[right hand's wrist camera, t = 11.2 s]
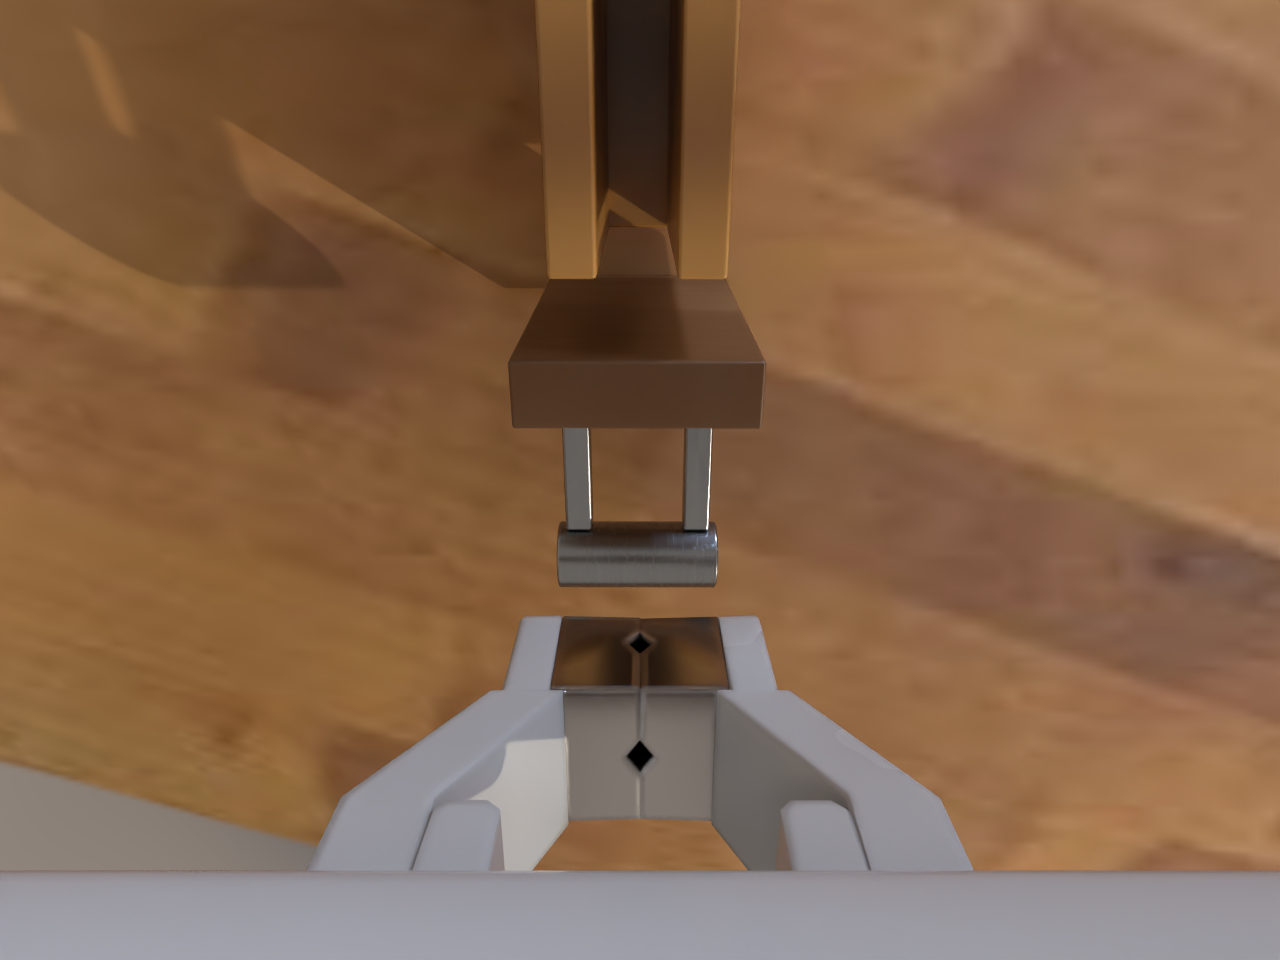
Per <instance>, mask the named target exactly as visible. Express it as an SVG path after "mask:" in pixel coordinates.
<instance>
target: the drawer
mask: <svg viewBox="0 0 1280 960" xmlns="http://www.w3.org/2000/svg"><path fill="white" fill-rule="evenodd" d="M739 21H740V0H535V22H536V43H537V65H538V87H539V109H540V131H541V152H542V174H543V196H544V218H545V240H546V261H547V275H548V277H549V278H551V279H550V281H549V283H548V285H547V287H546V289H545V291H544V292H543V294H542V296H541V298H540V300H539V302H538V304H537V306H536V308H535V310H534V312H533V314H532V316H531V318H530V320H529V322H528V324H527V326H526V328H525V330H524V332H523V334H522V336H521V338H520V340H519V342H518V344H517V346H516V348H515V350H514V352H513V354H512V356H511V358H510V360H509V362H508V369H509V384H510V398H511V413H512V425H513V427H514V428H562V437H563V461H564V485H565V509H566V521H562V522H560V524H559V528H558V538H557V576H558V583H559V586H560V587H715V586H716V582H717V574H718V539H717V529H716V524H715V522H709V510H710V487H711V463H712V440H713V428H761V426H762V418H763V403H764V389H765V375H766V362H765V360H764V358H763V356H762V354H761V351H760V349H759V347H758V345H757V343H756V341H755V339H754V337H753V335H752V333H751V331H750V329H749V327H748V325H747V322H746V320H745V318H744V316H743V314H742V312H741V310H740V308H739V306H738V304H737V302H736V300H735V298H734V296H733V294H732V291H731V289H730V287H729V285H728V283H727V281H726V279H725V278H726V277H727V275H728V254H729V233H730V211H731V190H732V169H733V148H734V127H735V105H736V84H737V63H738V42H739ZM608 227H667V228H668V233H669V237H670V242H671V247H672V251H673V256H674V260H675V265H676V269H677V274H678V276H596V275H597V272H598V268H599V264H600V260H601V256H602V252H603V248H604V244H605V240H606V235H607V231H608ZM591 428H684V460H683V497H682V522H626V521H593V492H592V452H591Z"/></svg>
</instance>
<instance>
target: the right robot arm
mask: <svg viewBox="0 0 1280 960" xmlns="http://www.w3.org/2000/svg"><path fill="white" fill-rule="evenodd" d="M611 819H667V820H704V821H712V825H713V826H714V828H715V829H716V830H717V831H718V833H719V834H720V835H721V836H722V838H723V839H724V840H725V842H726V843H727V844H728V845H729V847H730V848H731V849H732V850H733V852H734V853H735V854H736V855H737V857H738V858H739V859H740V861H741V862H742V863H743V864H744V866H745V867H746V868H747V869H748V871H532V870H533V869H534V867H535V866H536V865H537V864H538V862H539V861H540V860H541V859H542V857H543V856H544V855H545V854H546V852H547V851H548V850H549V849H550V847H551V846H552V845H553V844H554V842H555V841H556V840H557V838H558V837H559V836H560V835H561V833H562V832H563V831H564V830H565V828H566V827H567V826H568V821H576V820H611ZM0 960H1280V871H974V870H973V868H972V866H971V863H970V861H969V859H968V857H967V855H966V853H965V851H964V848H963V846H962V844H961V842H960V840H959V838H958V836H957V833H956V831H955V829H954V827H953V825H952V823H951V821H950V818H949V816H948V814H947V812H946V810H945V808H944V806H943V804H942V801H941V799H940V798H939V797H938V796H936V795H935V794H933V793H932V792H931V791H929V790H928V789H926V788H925V787H924V786H922V785H921V784H919V783H918V782H917V781H915V780H914V779H912V778H911V777H910V776H908V775H907V774H905V773H904V772H903V771H901V770H900V769H899V768H897V767H896V766H894V765H893V764H892V763H890V762H889V761H887V760H886V759H885V758H883V757H882V756H880V755H879V754H878V753H876V752H875V751H873V750H872V749H871V748H869V747H868V746H866V745H865V744H864V743H862V742H861V741H859V740H858V739H857V738H855V737H854V736H852V735H851V734H850V733H848V732H847V731H845V730H844V729H843V728H841V727H840V726H838V725H837V724H836V723H834V722H833V721H831V720H830V719H829V718H827V717H826V716H824V715H823V714H822V713H820V712H819V711H818V710H816V709H815V708H813V707H812V706H811V705H809V704H808V703H806V702H805V701H804V700H802V699H801V698H799V697H798V696H797V695H795V694H794V693H792V692H791V691H789V690H778V689H777V685H776V681H775V677H774V674H773V670H772V666H771V662H770V658H769V655H768V651H767V647H766V643H765V640H764V636H763V632H762V628H761V624H760V621H759V618H757V617H756V616H755V615H754V616H730V617H690V618H650V619H640V618H621V617H570V616H564V617H563V618H562V617H561V616H525V617H524V618H523V619H522V620H521V621H520V624H519V627H518V631H517V635H516V639H515V643H514V647H513V650H512V654H511V658H510V662H509V666H508V670H507V673H506V677H505V681H504V685H503V689H502V690H491V691H489V692H488V693H486V694H485V695H483V696H482V697H481V698H479V699H478V700H476V701H475V702H474V703H472V704H471V705H469V706H468V707H467V708H465V709H464V710H462V711H461V712H460V713H458V714H457V715H455V716H454V717H453V718H451V719H450V720H448V721H447V722H446V723H444V724H443V725H441V726H440V727H439V728H437V729H436V730H434V731H433V732H432V733H430V734H429V735H427V736H426V737H425V738H423V739H422V740H420V741H419V742H418V743H416V744H415V745H413V746H412V747H411V748H409V749H408V750H406V751H405V752H403V753H402V754H401V755H399V756H398V757H396V758H395V759H394V760H392V761H391V762H389V763H388V764H387V765H385V766H384V767H382V768H381V769H380V770H378V771H377V772H375V773H374V774H373V775H371V776H370V777H368V778H367V779H366V780H364V781H363V782H361V783H360V784H359V785H357V786H356V787H354V788H353V789H352V790H350V791H349V792H347V793H346V794H345V795H343V796H342V797H341V798H340V800H339V802H338V804H337V807H336V809H335V811H334V813H333V815H332V817H331V819H330V821H329V823H328V826H327V828H326V830H325V832H324V834H323V836H322V838H321V840H320V842H319V845H318V847H317V849H316V851H315V853H314V855H313V857H312V859H311V861H310V864H309V866H308V868H307V870H306V871H0Z"/></svg>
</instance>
